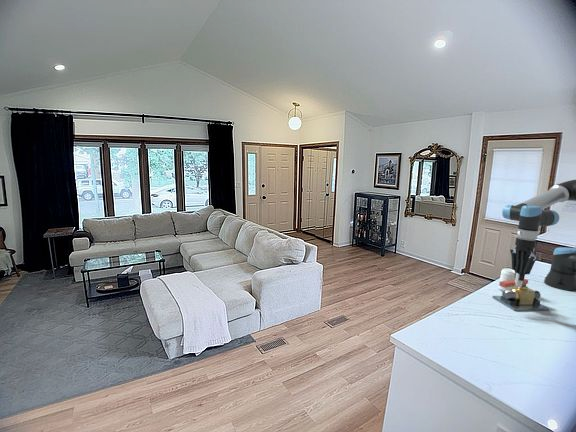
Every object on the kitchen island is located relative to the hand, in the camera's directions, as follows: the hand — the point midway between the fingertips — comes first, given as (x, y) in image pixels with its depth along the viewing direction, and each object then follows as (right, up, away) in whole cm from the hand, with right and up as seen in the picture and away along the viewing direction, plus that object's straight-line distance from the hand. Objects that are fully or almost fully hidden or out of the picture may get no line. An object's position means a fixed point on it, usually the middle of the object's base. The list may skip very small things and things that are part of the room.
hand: (517, 286), depth 144 cm
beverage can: (+12, -8, +23) cm, 28 cm away
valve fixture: (+6, -11, +7) cm, 14 cm away
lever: (0, -1, +3) cm, 3 cm away
